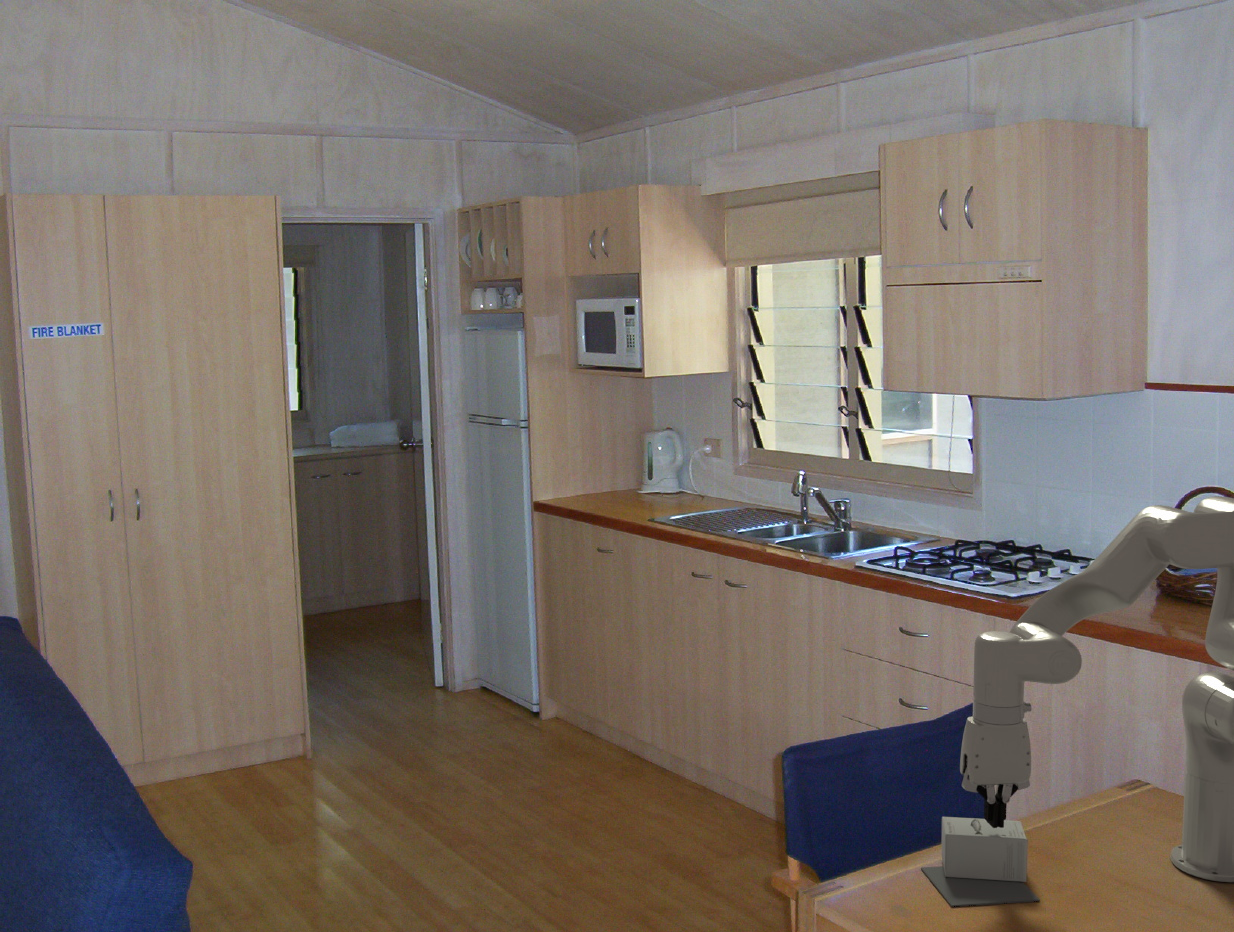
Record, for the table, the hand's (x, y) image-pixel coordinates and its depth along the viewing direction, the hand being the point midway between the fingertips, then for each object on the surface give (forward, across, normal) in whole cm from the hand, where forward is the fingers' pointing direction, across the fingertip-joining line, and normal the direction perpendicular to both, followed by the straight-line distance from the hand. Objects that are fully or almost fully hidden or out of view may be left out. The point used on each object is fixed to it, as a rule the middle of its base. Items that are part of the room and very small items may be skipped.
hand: (994, 824), depth 194 cm
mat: (+9, +3, +2) cm, 10 cm away
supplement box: (+5, -6, -1) cm, 8 cm away
